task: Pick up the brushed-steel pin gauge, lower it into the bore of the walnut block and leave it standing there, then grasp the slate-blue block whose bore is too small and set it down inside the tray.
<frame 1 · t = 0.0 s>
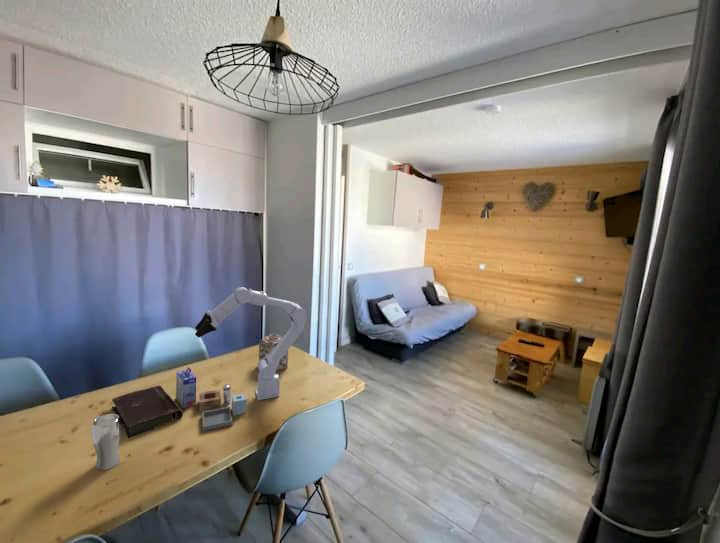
hand: (196, 332, 129), 32 cm above the table, tool tilted 50°, fingers open, 7 cm apart
tray: (217, 421, 126), on the table
decorative jar: (273, 367, 174), on the table
diary: (146, 415, 128), on the table
bore block: (210, 404, 136), on the table
pin gauge: (226, 403, 138), on the table
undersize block: (238, 410, 133), on the table
beer glass: (108, 464, 101), on the table
ink cartridge box: (186, 401, 137), on the table
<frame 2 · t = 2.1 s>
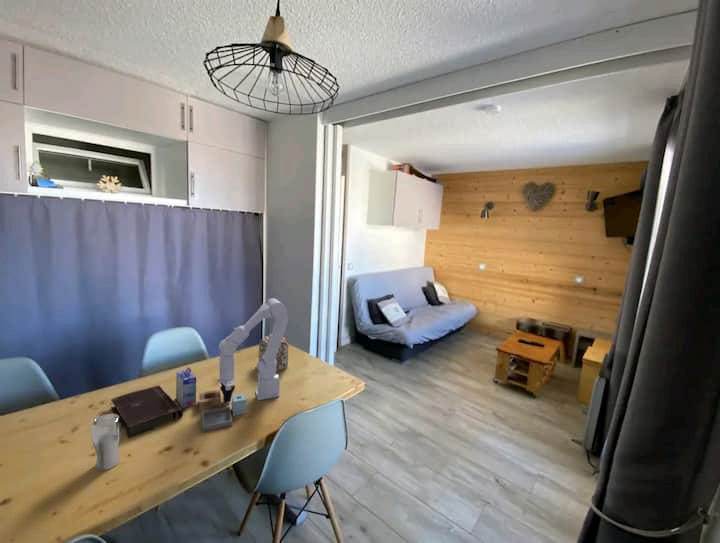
hand: (226, 397, 137), 3 cm above the table, tool pointing down, fingers open, 5 cm apart
nothing on the table moved.
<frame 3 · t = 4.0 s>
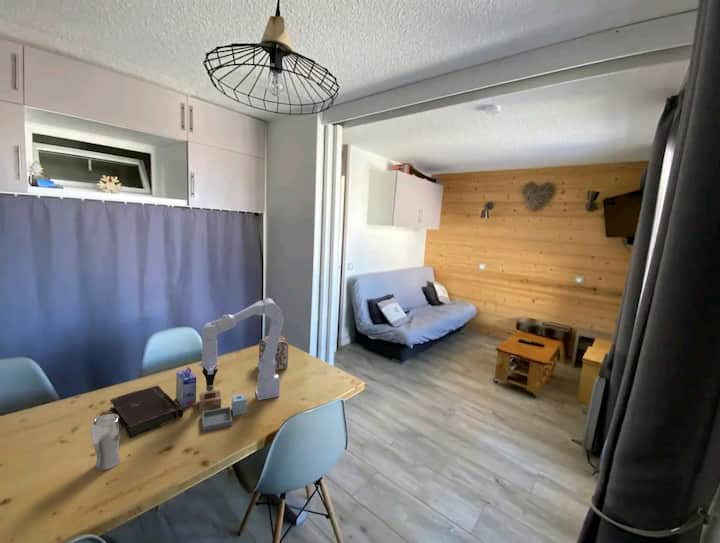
hand: (209, 383, 135), 10 cm above the table, tool pointing down, fingers closed on pin gauge, 3 cm apart
pin gauge: (209, 389, 135), point 7 cm above the table, touching gripper
everything else where it was.
when the fingers open (5 cm above the table, at t = 5.4 s): pin gauge drops 2 cm, resting in bore block.
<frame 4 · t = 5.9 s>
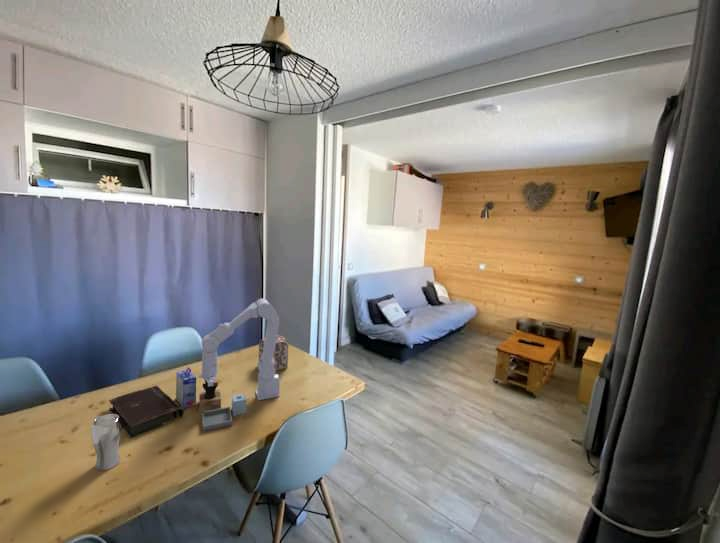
hand: (210, 394, 135), 5 cm above the table, tool pointing down, fingers open, 7 cm apart
pin gauge: (209, 404, 136), resting in bore block
everything else where it was.
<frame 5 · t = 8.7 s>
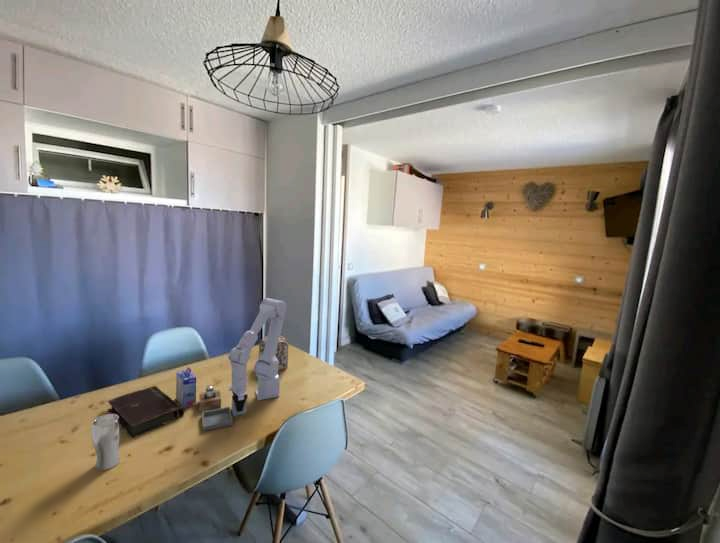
hand: (238, 407, 133), 2 cm above the table, tool pointing down, fingers closed on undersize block, 5 cm apart
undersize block: (238, 410, 133), on the table, touching gripper
everything else where it was.
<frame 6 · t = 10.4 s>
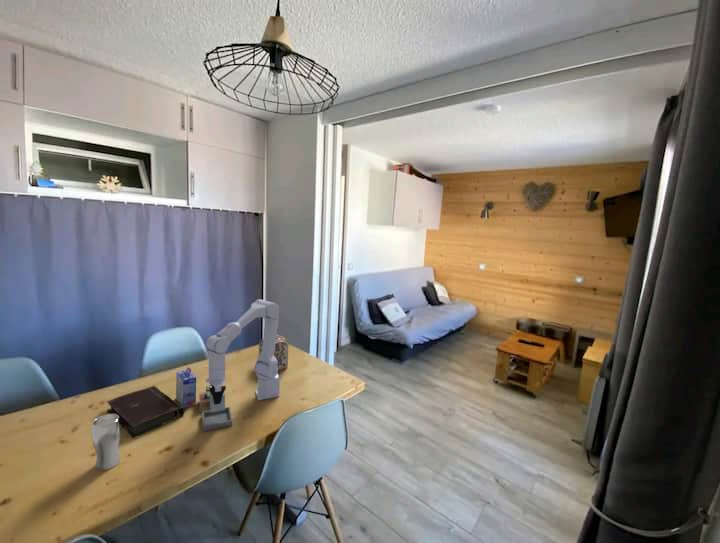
hand: (217, 399, 124), 9 cm above the table, tool pointing down, fingers closed on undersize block, 5 cm apart
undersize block: (217, 407, 125), point 6 cm above the table, touching gripper
everything else where it was.
when the fingers open (4 cm above the table, at t = 11.8 s): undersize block stays where it is, resting on tray.
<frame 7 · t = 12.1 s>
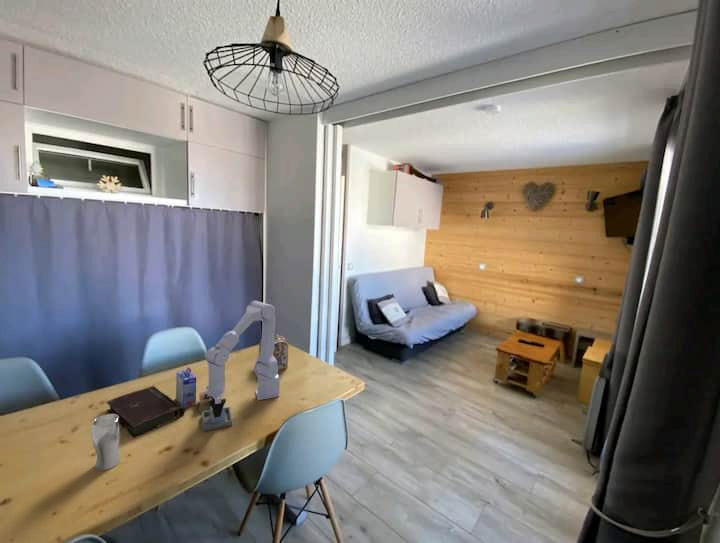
hand: (217, 411, 125), 4 cm above the table, tool pointing down, fingers open, 7 cm apart
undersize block: (217, 419, 126), resting on tray
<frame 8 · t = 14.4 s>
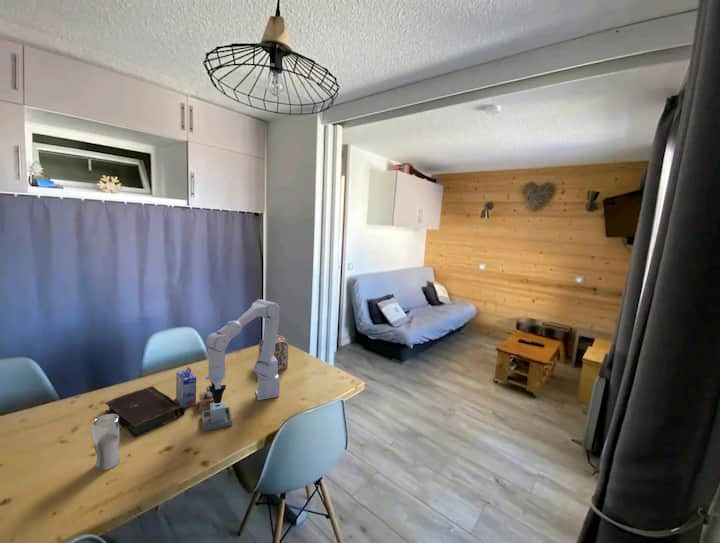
hand: (216, 397, 124), 10 cm above the table, tool pointing down, fingers open, 7 cm apart
at the end: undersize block inside the target area on the tray (0.2 cm from its centre), point 0.5 cm above the tray's base; pin gauge 0.0 cm from the bore block (horizontally); pin gauge resting in bore block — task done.
